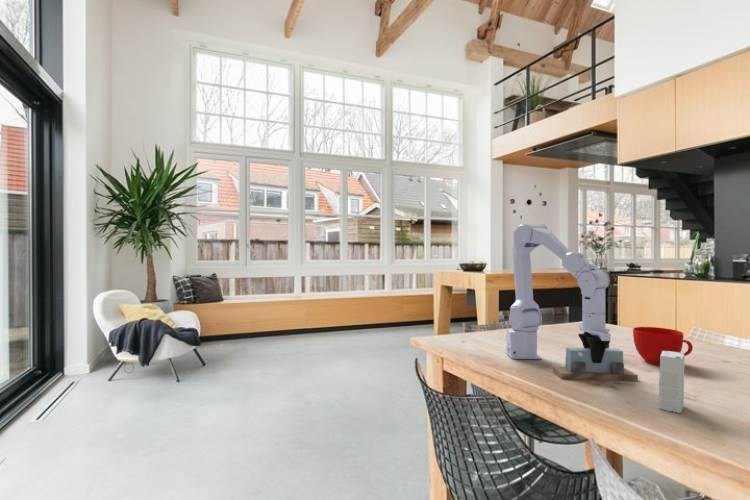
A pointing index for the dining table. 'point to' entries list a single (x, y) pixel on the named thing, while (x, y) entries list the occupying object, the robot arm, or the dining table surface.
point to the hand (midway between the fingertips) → (593, 361)
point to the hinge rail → (595, 373)
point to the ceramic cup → (658, 342)
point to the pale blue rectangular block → (585, 356)
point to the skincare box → (671, 381)
